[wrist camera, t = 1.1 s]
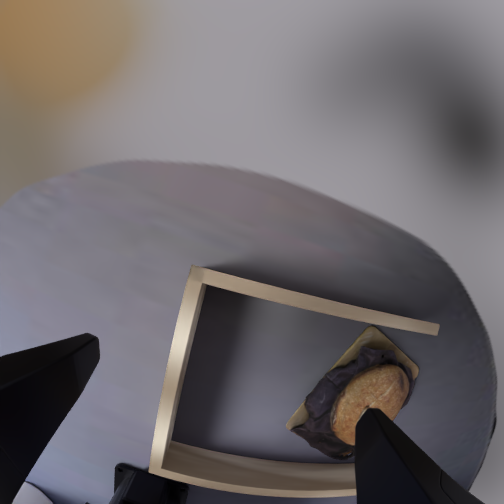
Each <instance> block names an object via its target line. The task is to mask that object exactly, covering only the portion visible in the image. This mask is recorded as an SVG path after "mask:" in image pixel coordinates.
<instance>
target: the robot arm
mask: <svg viewBox="0 0 504 504" xmlns="http://www.w3.org/2000/svg"><path fill="white" fill-rule="evenodd" d="M99 359H100V349H99V339H98V338H97V337H96V336H94V335H92V334H90V333H85V334H81V335H78V336H74V337H71V338H67V339H64V340H60V341H56V342H53V343H49V344H45V345H42V346H38V347H34V348H31V349H27V350H23V351H19V352H15V353H11V354H7V355H3V356H2V357H0V504H12V502H13V500H14V499H15V497H16V495H17V493H18V492H19V490H20V488H21V487H22V485H23V483H24V481H25V480H26V478H27V476H28V474H29V473H30V471H31V470H32V468H33V466H34V465H35V463H36V461H37V460H38V458H39V457H40V455H41V453H42V452H43V450H44V449H45V447H46V446H47V444H48V443H49V441H50V439H51V438H52V436H53V435H54V433H55V432H56V430H57V429H58V427H59V426H60V424H61V423H62V421H63V420H64V419H65V417H66V416H67V414H68V413H69V411H70V410H71V408H72V407H73V405H74V404H75V403H76V401H77V400H78V398H79V397H80V395H81V393H82V392H83V390H84V388H85V386H86V384H87V382H88V381H89V379H90V377H91V375H92V373H93V371H94V370H95V368H96V366H97V364H98V362H99ZM120 468H121V469H122V470H121V469H120ZM355 480H356V495H357V504H485V503H483V502H482V501H480V500H479V499H477V498H476V497H475V496H474V495H472V494H471V493H470V492H468V491H467V490H466V489H464V488H463V487H462V486H460V485H459V484H458V483H457V482H456V481H454V480H453V479H452V478H451V477H450V476H449V475H448V474H447V473H446V472H445V471H444V470H442V469H441V468H440V467H439V466H438V465H437V464H436V463H435V462H434V461H433V460H432V459H431V458H430V457H429V456H428V455H427V454H426V453H425V452H424V451H423V450H422V449H420V448H419V447H418V446H417V445H416V444H415V443H414V442H413V441H412V440H411V439H410V438H409V437H408V436H407V435H406V434H405V433H404V432H403V431H402V430H401V429H400V428H399V427H398V426H397V425H396V424H395V423H394V422H393V421H392V420H391V419H390V418H389V417H388V416H387V415H386V414H385V413H384V412H383V411H382V410H381V409H379V408H368V409H367V410H366V411H365V412H364V414H363V415H362V416H361V418H360V419H359V421H358V422H357V424H356V427H355ZM182 488H184V489H182ZM188 491H189V487H188V486H187V485H186V484H183V483H179V482H175V481H171V480H168V479H164V478H161V477H158V476H154V475H151V474H148V473H145V472H142V471H139V470H136V469H133V468H131V467H128V466H125V465H123V464H117V465H116V467H115V480H114V496H113V497H112V499H111V501H110V503H109V504H185V503H186V499H187V495H188ZM86 504H89V503H88V502H86Z"/></svg>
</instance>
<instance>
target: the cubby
mask: <svg viewBox="0 0 504 504" xmlns="http://www.w3.org/2000/svg"><path fill="white" fill-rule="evenodd" d="M207 284H208V285H212V286H215V287H219V288H223V289H227V290H230V291H234V292H238V293H242V294H246V295H250V296H254V297H258V298H262V299H266V300H270V301H274V302H278V303H282V304H286V305H290V306H294V307H299V308H303V309H307V310H312V311H316V312H320V313H325V314H329V315H334V316H338V317H343V318H348V319H352V320H357V321H362V322H367V323H372V324H377V325H382V326H387V327H392V328H397V329H403V330H408V331H414V332H419V333H425V334H430V335H436V336H437V334H438V330H439V326H440V324H435V323H430V322H426V321H421V320H416V319H411V318H407V317H402V316H397V315H393V314H388V313H384V312H379V311H375V310H370V309H366V308H362V307H357V306H353V305H349V304H344V303H340V302H336V301H331V300H327V299H323V298H319V297H315V296H311V295H307V294H303V293H298V292H294V291H290V290H286V289H282V288H278V287H275V286H271V285H267V284H263V283H259V282H255V281H251V280H247V279H243V278H240V277H236V276H232V275H228V274H225V273H221V272H217V271H213V270H210V269H206V268H202V267H199V266H195V265H191V269H190V272H189V276H188V280H187V284H186V288H185V292H184V296H183V300H182V304H181V308H180V312H179V316H178V320H177V324H176V329H175V333H174V337H173V342H172V346H171V351H170V355H169V360H168V365H167V369H166V374H165V379H164V384H163V389H162V394H161V400H160V405H159V410H158V416H157V421H156V427H155V433H154V439H153V445H152V452H151V458H150V465H149V473H152V474H155V475H159V476H162V477H165V478H169V479H173V480H176V481H180V482H184V483H188V484H193V485H197V486H202V487H206V488H212V489H217V490H223V491H229V492H236V493H243V494H252V495H262V496H274V497H299V498H316V497H340V496H353V495H356V480H355V463H347V464H320V463H297V462H284V461H274V460H265V459H257V458H250V457H243V456H237V455H231V454H226V453H221V452H216V451H211V450H207V449H202V448H198V447H194V446H190V445H186V444H182V443H179V442H175V441H172V440H171V438H172V433H173V428H174V424H175V419H176V414H177V409H178V405H179V400H180V395H181V391H182V386H183V382H184V378H185V373H186V369H187V364H188V360H189V356H190V352H191V347H192V343H193V339H194V335H195V331H196V327H197V323H198V319H199V315H200V311H201V307H202V303H203V299H204V295H205V291H206V287H207Z"/></svg>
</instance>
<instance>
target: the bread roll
mask: <svg viewBox="0 0 504 504" xmlns="http://www.w3.org/2000/svg"><path fill="white" fill-rule="evenodd" d="M418 372H419V368H418V366H417V365H416V364H415V363H413V362H412V361H411V360H410V359H409V358H408V357H407V356H406V355H405V354H404V353H403V352H402V351H401V350H400V349H399V348H398V347H397V346H396V345H394V344H393V343H392V342H391V341H390V340H389V339H388V338H387V337H386V336H385V335H384V334H383V333H381V332H380V331H379V330H378V329H377V328H376V327H374V326H368V327H367V328H366V329H365V330H364V331H363V333H362V334H361V335H360V336H359V337H358V338H357V339H356V340H355V342H354V343H353V344H352V345H351V346H350V347H349V349H347V351H346V352H345V353H344V354H343V355H342V356H341V358H340V359H339V360H338V361H337V362H336V363H335V364H334V365H333V367H332V368H331V369H330V370H329V371H328V372H327V373H326V374H325V376H324V377H323V378H322V379H321V380H320V381H319V383H318V384H317V386H316V387H315V388H314V389H313V391H312V392H311V393H310V394H309V395H308V396H307V397H306V399H305V401H304V402H303V403H302V404H301V406H300V407H299V408H298V409H297V411H296V412H295V413H294V414H293V416H292V417H291V418H290V420H289V421H288V423H287V425H286V428H287V429H289V430H290V431H291V432H294V433H296V434H297V435H299V436H300V437H302V438H304V439H305V440H306V441H307V442H308V443H309V444H310V446H311V447H313V448H316V449H318V450H319V451H321V452H322V453H324V454H325V455H327V456H329V457H332V458H334V459H339V460H347V459H348V458H351V457H353V456H355V427H356V424H357V422H358V421H359V419H360V418H361V416H362V415H363V414H364V412H365V411H366V410H367V409H368V408H379V409H381V410H382V411H383V412H384V413H385V414H386V415H387V416H388V417H389V418H390V419H391V420H392V421H393V420H394V419H395V417H396V416H397V414H398V412H399V410H400V409H402V408H403V407H404V406H405V405H406V404H407V403H408V401H409V399H410V396H411V393H412V389H413V387H414V385H415V381H414V379H415V378H416V377H417V375H418ZM352 451H353V452H352ZM351 452H352V454H350V455H349V456H348V455H347V454H349V453H351ZM341 454H345V455H341ZM340 455H341V456H340ZM343 456H344V457H343Z"/></svg>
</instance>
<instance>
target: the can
mask: <svg viewBox="0 0 504 504" xmlns="http://www.w3.org/2000/svg"><path fill="white" fill-rule="evenodd" d="M12 504H54V503H53V502H52V501H51V500H50V499H49V498H48V497H47V496H46V495H45V494H44V493H43V492H42V491H41V490H39V489H38V488H37V487H35V486H33V485H32V484H30V483H28V482H24V483H23V485H22V487H21V488H20V490H19V492H18V493H17V495H16V497H15V499H14V500H13V502H12Z"/></svg>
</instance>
